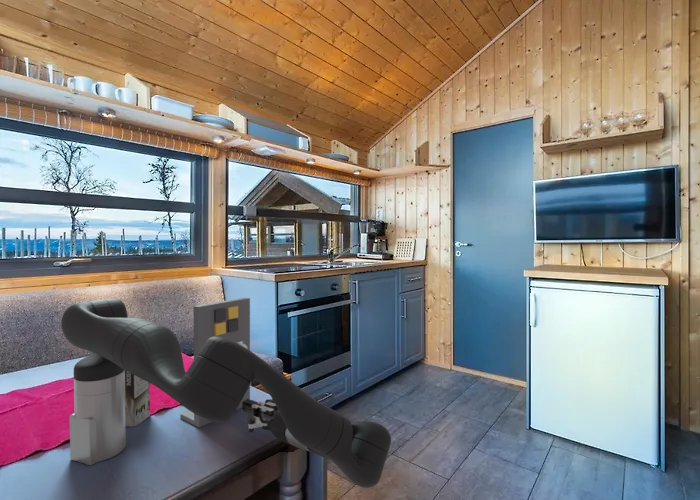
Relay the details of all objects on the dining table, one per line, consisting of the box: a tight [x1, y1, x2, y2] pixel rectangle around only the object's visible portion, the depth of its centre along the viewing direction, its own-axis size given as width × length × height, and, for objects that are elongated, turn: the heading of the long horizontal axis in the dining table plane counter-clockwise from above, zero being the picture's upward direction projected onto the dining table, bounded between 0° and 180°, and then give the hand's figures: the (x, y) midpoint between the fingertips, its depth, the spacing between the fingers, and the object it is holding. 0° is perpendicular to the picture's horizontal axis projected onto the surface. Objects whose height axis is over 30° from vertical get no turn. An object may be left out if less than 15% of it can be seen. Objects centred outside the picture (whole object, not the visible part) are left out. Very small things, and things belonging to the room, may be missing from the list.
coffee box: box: [125, 370, 151, 428], centre depth 95 cm, size 9×6×16 cm
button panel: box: [179, 297, 251, 429], centre depth 100 cm, size 9×16×30 cm, turn 146°
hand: (244, 404), depth 87 cm, fingers closed
